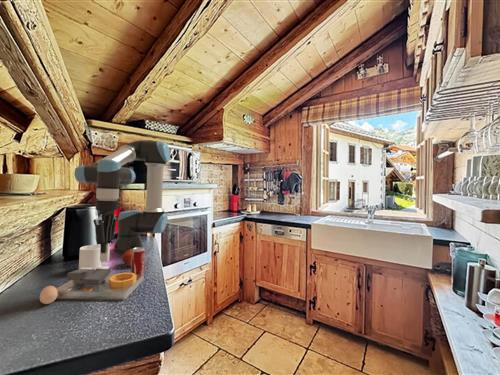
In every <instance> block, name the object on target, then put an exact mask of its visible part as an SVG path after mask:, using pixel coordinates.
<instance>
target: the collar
mask: <svg viewBox="0 0 500 375" xmlns="http://www.w3.org/2000/svg"><path fill="white" fill-rule="evenodd" d="M115 274H116V275H113V276H112V277H110V278H109V285H110V286H111V287H120V288H122V287H126V286H129V285H132V284H134V283H135V282H136V279H137V275H135V274H134V273H131V272H122V273H115ZM120 279H128V280H124V281H116V280H120Z"/></svg>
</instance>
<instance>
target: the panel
mask: <svg viewBox="0 0 500 375" xmlns="http://www.w3.org/2000/svg"><path fill="white" fill-rule="evenodd" d="M116 274H117V273H110V274H109V275H108V276H107V277H106V278H105V280H104V281H103V282H102V283H101V284H100V285H86V281H85V279H86V278H84V279H82V280H67V282H65V283H63V284H61V285H60V286H58V287H55V288H56V289H57V291H58V295H57V298H56V299H57V300H58V299H61V300H64V299H65V300H68V299H69V300H115V301H116V300H117V301H118V300H119V301H120V300H121V301H122V300H124V301H125V300H126V299H127V298H128V297H129V296H130V295H131V294H132V293H133V292H134V291H135V290H136V288H138V287H139V286H140V284H141V283H142V282H143V281H144V276H145V273H144V274H135V275H137V279H136V282H135V283H134V284H132V285H129V286H126V287H122V288H120V287H111V286H110V285H109V278H110V277H112V276H113V275H116ZM124 280H128V279H120V280H116V281H124ZM56 299H55V300H56Z"/></svg>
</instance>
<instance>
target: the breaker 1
mask: <svg viewBox="0 0 500 375" xmlns="http://www.w3.org/2000/svg"><path fill="white" fill-rule="evenodd" d="M93 271H94V268H80V269H79V268H78V269H76V270H72V271H69V272H67V276H66V280H67V281H70V280H82V279H84V278H87V277H88V276H89V275H90V274H91V273H92V272H93Z"/></svg>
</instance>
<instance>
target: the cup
mask: <svg viewBox="0 0 500 375" xmlns="http://www.w3.org/2000/svg"><path fill="white" fill-rule="evenodd" d="M100 248H101V245H100V244H92V245H91V244H90V245H84V246H81V247H80V248H79V255H78V257H79V259H78V269H80V268H94V270H95V269H97V268H98V267H99V266H102V261H100Z"/></svg>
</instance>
